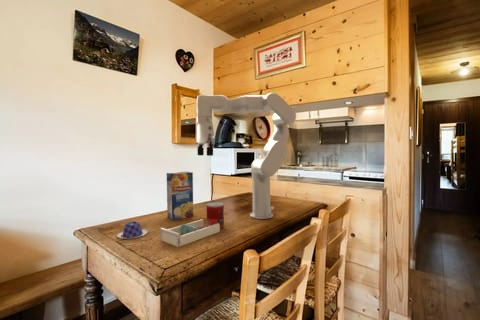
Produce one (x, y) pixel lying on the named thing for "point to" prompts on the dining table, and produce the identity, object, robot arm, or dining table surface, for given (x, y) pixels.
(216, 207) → the canned food
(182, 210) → the blue food box
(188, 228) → the pusher
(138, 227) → the blue checkered hat
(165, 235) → the white shallow tray
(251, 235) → the dining table surface
